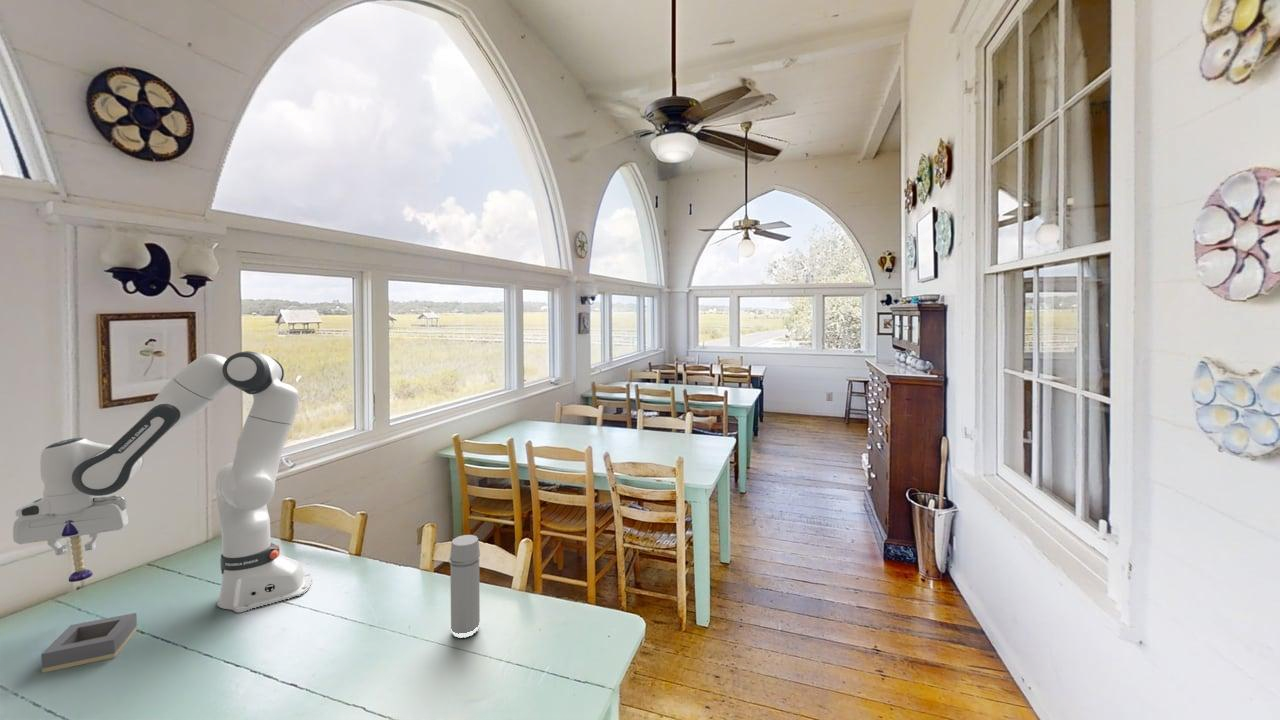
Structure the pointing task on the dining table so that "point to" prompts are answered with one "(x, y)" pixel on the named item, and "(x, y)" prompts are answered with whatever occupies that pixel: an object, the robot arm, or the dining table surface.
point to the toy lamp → (76, 554)
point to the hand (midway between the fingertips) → (76, 551)
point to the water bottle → (464, 583)
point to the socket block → (89, 642)
